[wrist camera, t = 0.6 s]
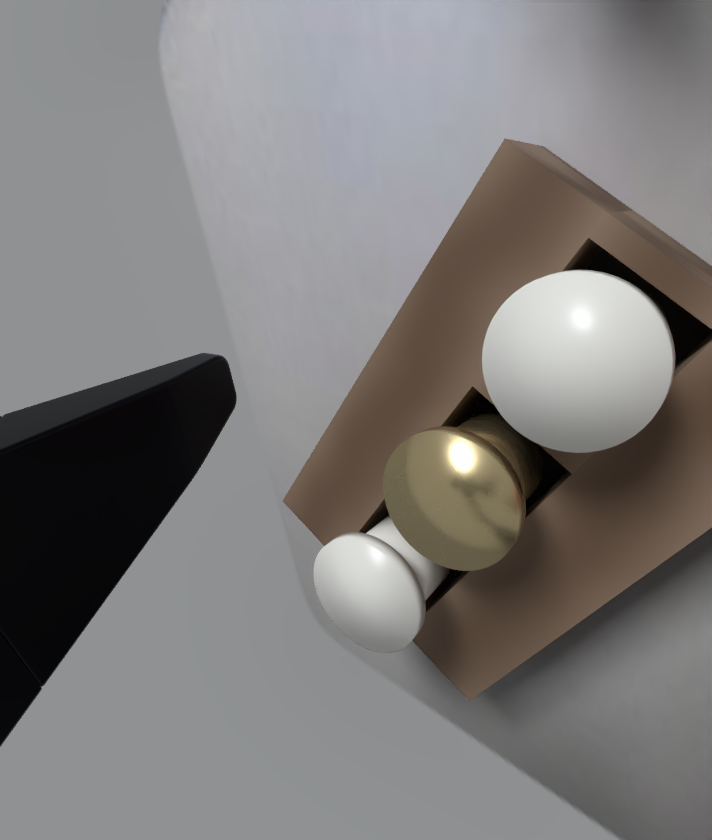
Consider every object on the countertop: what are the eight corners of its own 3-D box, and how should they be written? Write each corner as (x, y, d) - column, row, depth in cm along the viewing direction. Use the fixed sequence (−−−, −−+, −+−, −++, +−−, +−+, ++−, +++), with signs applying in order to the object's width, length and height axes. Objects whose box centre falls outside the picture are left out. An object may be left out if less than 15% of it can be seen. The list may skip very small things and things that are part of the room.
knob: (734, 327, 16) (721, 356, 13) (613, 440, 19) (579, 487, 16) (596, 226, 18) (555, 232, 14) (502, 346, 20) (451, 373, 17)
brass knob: (589, 463, 20) (551, 512, 17) (505, 542, 23) (460, 596, 20) (483, 371, 21) (430, 401, 18) (416, 456, 24) (360, 495, 21)
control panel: (864, 375, 17) (878, 408, 14) (500, 652, 28) (469, 701, 25) (543, 146, 20) (504, 138, 17) (326, 474, 31) (282, 500, 28)
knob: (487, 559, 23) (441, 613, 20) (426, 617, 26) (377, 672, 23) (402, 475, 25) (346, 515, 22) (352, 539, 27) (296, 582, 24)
